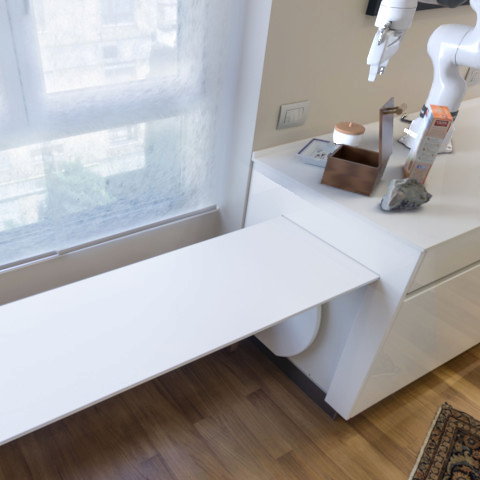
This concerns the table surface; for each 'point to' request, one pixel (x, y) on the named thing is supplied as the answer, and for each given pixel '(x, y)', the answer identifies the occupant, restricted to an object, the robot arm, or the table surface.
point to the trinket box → (348, 133)
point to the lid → (387, 129)
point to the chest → (353, 169)
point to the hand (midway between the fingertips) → (375, 77)
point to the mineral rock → (405, 195)
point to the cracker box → (428, 142)
